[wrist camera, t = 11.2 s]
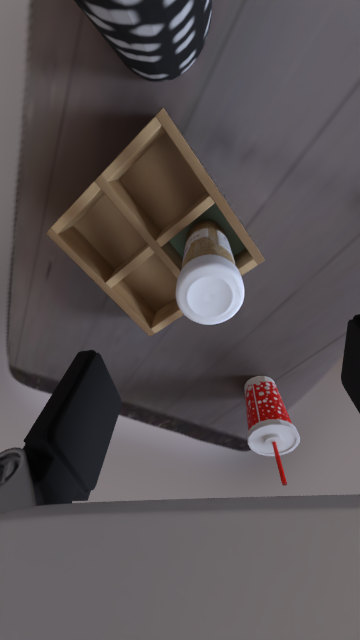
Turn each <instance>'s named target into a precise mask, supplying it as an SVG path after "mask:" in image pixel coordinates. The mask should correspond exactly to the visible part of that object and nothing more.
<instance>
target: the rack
mask: <svg viewBox="0 0 360 640" xmlns="http://www.w3.org/2000/svg"><path fill="white" fill-rule="evenodd" d="M202 221H213V222H215V223H218V224H219V225H220V226H221V227H222V228H223V229H224V230H225V232H226V234H227V240H228V242H229V245H230V248H231V252H232V255H233V258H234V261H235V266H236V267H237V269H238V270H239V272H240V275H241V276H242V275H244V274H245V273H247V272H248V271H250V270H251V269H253V268H254V267H256V266H257V265H258V264H260V263H261V262H263V261H264V260H265V259H264V258H263V256H262V255H261V253H260V251H259V250H258V248H257V247H256V245H255V244H254V242H253V241H252V239H251V238H250V236H249V235H248V233H247V232H246V230H245V229H244V227H243V226H242V224H241V223H240V221H239V220H238V218H237V217H236V215H235V214H234V212H233V211H232V209H231V208H230V206H229V205H228V203H227V202H226V200H225V199H224V197H223V196H222V194H221V193H220V191H219V190H218V188H217V187H216V185H215V184H214V182H213V181H212V179H211V178H210V176H209V175H208V173H207V172H206V170H205V169H204V167H203V166H202V164H201V163H200V161H199V160H198V158H197V157H196V155H195V154H194V152H193V151H192V149H191V148H190V146H189V145H188V143H187V142H186V140H185V139H184V137H183V136H182V134H181V133H180V131H179V130H178V128H177V127H176V125H175V124H174V122H173V121H172V119H171V118H170V116H169V115H168V114H167V112H166V111H165V110H164V108H162V109H161V110H160V111H159V112H158V113H157V114H156V117H154V118H153V119H152V120H151V121H150V122H149V123H148V124H147V125H146V126H145V127H144V128H143V129H142V130H141V132H140V133H139V134H138V135H137V136H136V137H135V138H134V139H133V140H132V141H131V142H130V143H129V144H128V145H127V147H126V148H125V149H124V150H123V151H122V152H121V153H120V154H119V155H118V156H117V157H116V158H115V159H114V160H113V162H112V163H111V164H110V165H109V166H108V167H107V168H106V169H105V170H104V171H103V172H102V173H101V175H99V177H98V178H97V179H96V180H95V181H94V182H93V183H92V184H91V185H90V186H89V187H88V188H87V189H86V190H85V191H84V193H83V194H82V195H81V196H80V197H79V198H78V199H77V200H76V201H75V202H74V203H73V204H72V205H71V206H70V208H69V209H68V210H67V211H66V212H65V213H64V214H63V215H62V216H61V217H60V218H59V219H58V220H57V221H56V223H55V224H54V225H53V226H52V227H51V228H50V229H49V230H48V231H47V232H46V234H47V235H48V236H49V237H50V238H51V239H52V240H53V241H54V242H55V243H56V244H57V245H58V246H59V247H60V248H61V249H62V250H63V251H64V252H65V253H66V254H67V255H68V256H69V257H70V258H71V259H72V260H73V261H74V262H75V263H76V264H77V265H78V266H79V267H80V268H81V269H82V270H83V271H84V272H85V273H86V274H87V275H88V276H89V277H90V278H91V279H92V280H93V281H94V282H95V283H96V284H97V285H98V286H99V287H101V288H102V289H103V290H104V291H105V292H106V293H107V294H108V295H109V296H110V297H111V298H112V299H113V300H114V301H115V302H116V303H117V304H118V305H119V306H120V307H121V308H122V309H123V310H124V311H125V312H126V313H127V314H128V315H129V316H130V317H131V318H132V319H133V320H134V321H135V322H136V323H137V324H138V325H139V326H140V327H141V328H142V329H143V330H144V331H145V332H146V333H147V334H148V335H149V336H152V335H153V334H155V333H157V332H158V331H160V330H161V329H163V328H164V327H166V326H167V325H169V324H170V323H172V322H173V321H175V320H176V319H178V318H179V317H181V316H182V315H184V314H183V313H182V311H181V310H180V308H179V306H178V304H177V301H176V285H177V280H178V276H179V274H180V272H181V270H182V263H183V256H184V250H185V240H186V236H187V234H188V232H189V230H190V229H191V228H192V227H193V226H194V225H195V224H197V223H199V222H202Z"/></svg>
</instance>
